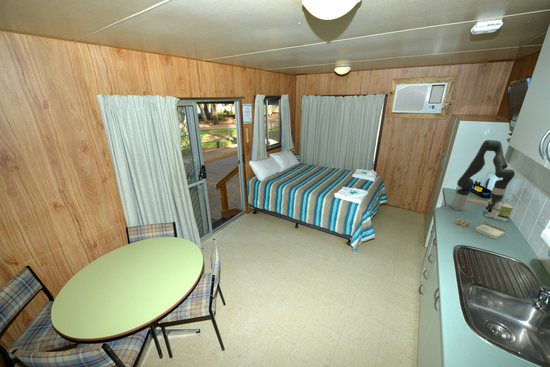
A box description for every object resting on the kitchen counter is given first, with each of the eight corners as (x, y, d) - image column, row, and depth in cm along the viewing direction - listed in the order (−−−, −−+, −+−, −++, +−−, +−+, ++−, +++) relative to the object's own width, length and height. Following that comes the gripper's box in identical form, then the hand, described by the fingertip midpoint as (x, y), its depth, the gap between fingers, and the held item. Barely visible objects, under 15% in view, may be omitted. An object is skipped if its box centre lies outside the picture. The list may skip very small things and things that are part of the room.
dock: (474, 230, 187) (476, 225, 185) (483, 226, 192) (485, 221, 190) (495, 239, 175) (497, 233, 173) (503, 234, 181) (506, 229, 179)
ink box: (482, 213, 184) (486, 200, 180) (485, 211, 186) (489, 199, 182) (494, 217, 177) (499, 204, 173) (497, 216, 179) (502, 203, 175)
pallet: (453, 223, 199) (454, 221, 198) (458, 220, 202) (459, 219, 201) (463, 227, 192) (464, 225, 191) (468, 225, 195) (469, 223, 194)
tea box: (484, 216, 208) (490, 203, 203) (484, 212, 215) (490, 199, 209) (506, 222, 198) (512, 208, 193) (506, 217, 205) (512, 204, 200)
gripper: (496, 189, 181) (489, 208, 187) (487, 192, 175) (480, 211, 181) (508, 193, 174) (501, 211, 180) (499, 196, 169) (492, 215, 175)
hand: (491, 211), depth 181 cm, fingers closed on ink box, 5 cm apart
